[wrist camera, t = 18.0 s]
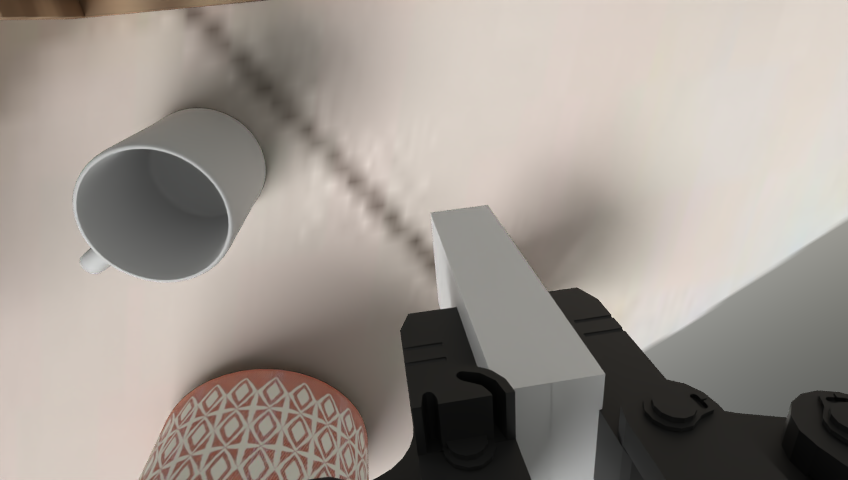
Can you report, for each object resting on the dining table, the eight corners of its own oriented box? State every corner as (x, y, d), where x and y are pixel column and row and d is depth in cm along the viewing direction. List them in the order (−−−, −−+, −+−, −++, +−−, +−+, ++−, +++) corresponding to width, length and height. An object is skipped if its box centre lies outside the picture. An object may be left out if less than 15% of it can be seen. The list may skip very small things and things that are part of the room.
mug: (207, 82, 35) (148, 108, 25) (290, 173, 38) (267, 229, 28) (88, 181, 36) (-12, 243, 27) (177, 260, 40) (119, 341, 30)
